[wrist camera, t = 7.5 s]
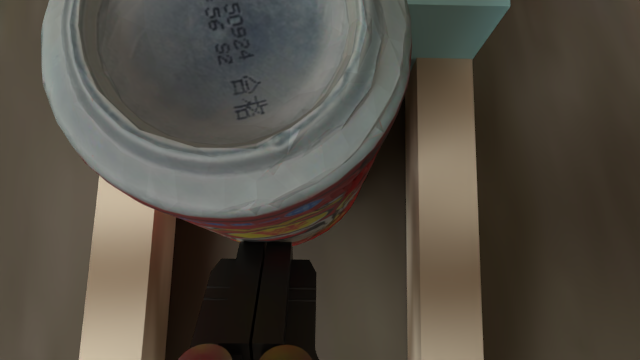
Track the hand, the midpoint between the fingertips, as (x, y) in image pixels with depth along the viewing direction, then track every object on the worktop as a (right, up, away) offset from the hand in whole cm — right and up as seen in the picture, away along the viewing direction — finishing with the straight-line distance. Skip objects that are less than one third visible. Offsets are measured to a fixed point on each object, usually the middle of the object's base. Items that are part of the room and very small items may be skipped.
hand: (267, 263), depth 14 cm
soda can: (0, +3, +5) cm, 6 cm away
